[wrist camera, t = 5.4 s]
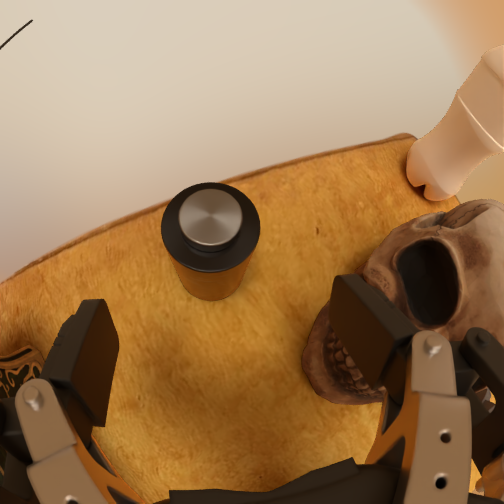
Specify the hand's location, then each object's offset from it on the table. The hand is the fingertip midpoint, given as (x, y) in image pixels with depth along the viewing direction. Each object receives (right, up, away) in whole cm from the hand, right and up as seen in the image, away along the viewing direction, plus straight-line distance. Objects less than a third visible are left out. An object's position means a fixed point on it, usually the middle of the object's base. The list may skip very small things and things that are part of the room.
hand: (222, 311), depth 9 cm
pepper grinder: (-2, +1, +10) cm, 10 cm away
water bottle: (+20, +10, +17) cm, 28 cm away
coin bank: (+14, -4, +11) cm, 18 cm away
